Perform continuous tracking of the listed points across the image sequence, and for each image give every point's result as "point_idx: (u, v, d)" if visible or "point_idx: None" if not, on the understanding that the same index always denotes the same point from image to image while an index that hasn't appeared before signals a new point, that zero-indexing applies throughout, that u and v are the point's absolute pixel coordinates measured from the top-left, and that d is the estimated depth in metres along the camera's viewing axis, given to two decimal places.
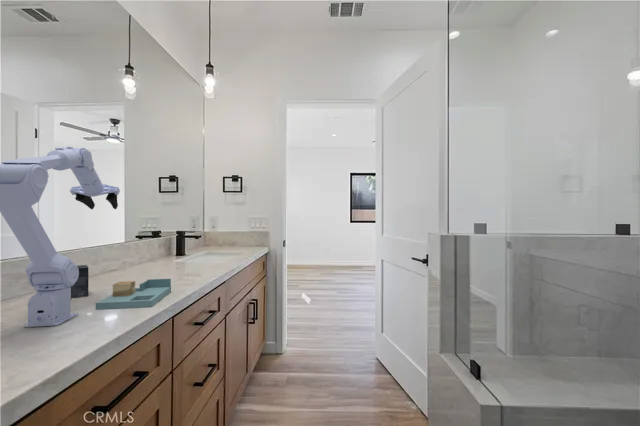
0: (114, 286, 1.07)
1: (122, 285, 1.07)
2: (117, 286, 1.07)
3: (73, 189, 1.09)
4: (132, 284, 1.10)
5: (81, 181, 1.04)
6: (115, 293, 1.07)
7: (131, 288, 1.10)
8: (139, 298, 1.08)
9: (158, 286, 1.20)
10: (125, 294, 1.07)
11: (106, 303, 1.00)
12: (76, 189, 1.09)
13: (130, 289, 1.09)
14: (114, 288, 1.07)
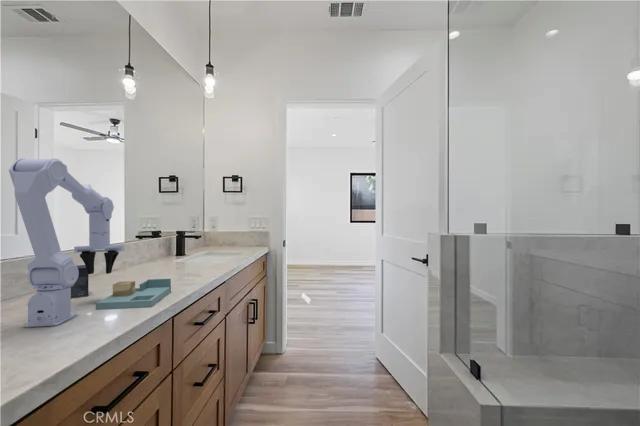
0: (114, 286, 1.07)
1: (122, 285, 1.07)
2: (117, 286, 1.07)
3: (78, 247, 1.08)
4: (132, 284, 1.10)
5: (92, 228, 1.06)
6: (115, 293, 1.07)
7: (131, 288, 1.10)
8: (139, 298, 1.08)
9: (158, 286, 1.20)
10: (125, 294, 1.07)
11: (106, 303, 1.00)
12: None
13: (130, 289, 1.09)
14: (114, 288, 1.07)
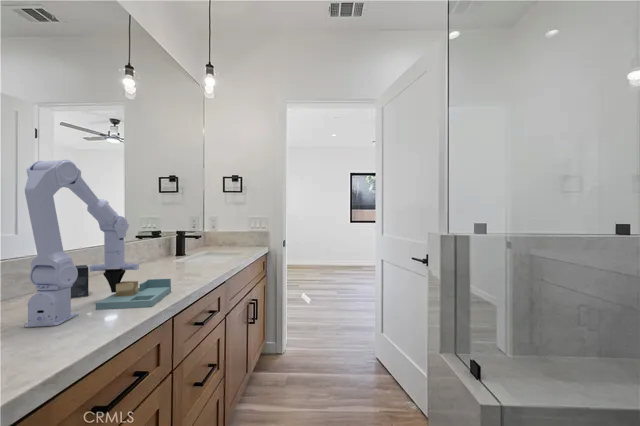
0: (117, 286, 1.07)
1: (125, 285, 1.08)
2: (120, 285, 1.07)
3: (93, 265, 1.08)
4: (135, 284, 1.11)
5: (105, 248, 1.07)
6: (118, 293, 1.07)
7: (135, 288, 1.10)
8: (139, 298, 1.08)
9: (158, 286, 1.20)
10: (128, 294, 1.08)
11: (106, 303, 1.00)
12: (96, 265, 1.08)
13: (133, 289, 1.09)
14: (117, 288, 1.07)
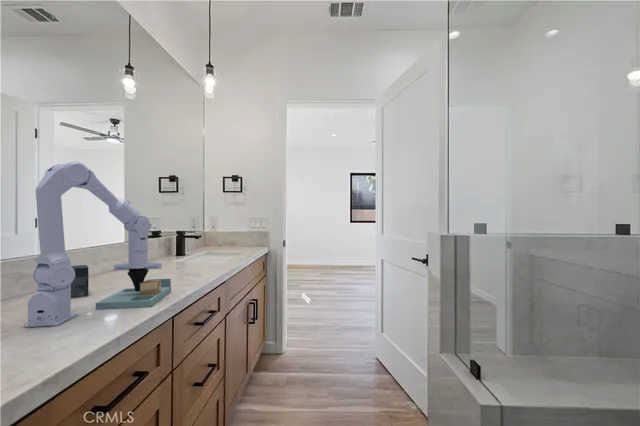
0: (141, 285, 1.08)
1: (149, 284, 1.09)
2: (144, 284, 1.08)
3: (117, 265, 1.09)
4: (158, 283, 1.12)
5: (128, 247, 1.08)
6: (143, 292, 1.08)
7: (158, 287, 1.11)
8: (139, 298, 1.08)
9: None
10: (152, 293, 1.09)
11: (106, 303, 1.00)
12: None
13: (157, 288, 1.10)
14: (141, 287, 1.08)
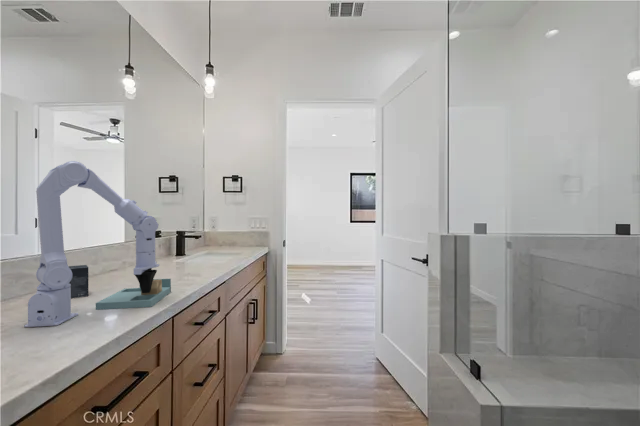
0: None
1: None
2: None
3: None
4: (159, 282, 1.12)
5: (136, 247, 1.06)
6: None
7: (159, 286, 1.12)
8: (139, 298, 1.08)
9: None
10: (153, 292, 1.10)
11: (106, 303, 1.00)
12: None
13: (158, 287, 1.11)
14: None
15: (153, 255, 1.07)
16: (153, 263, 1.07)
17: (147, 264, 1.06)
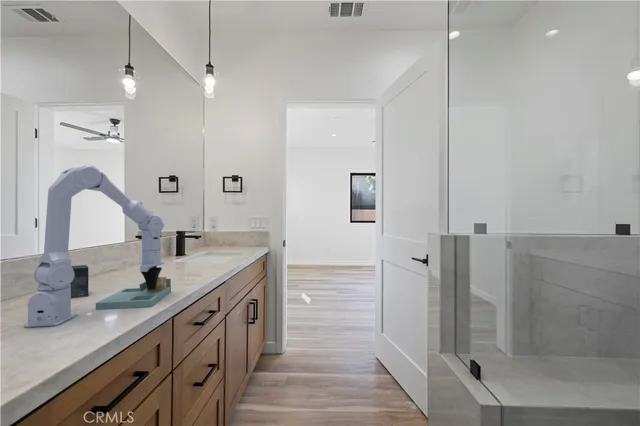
0: None
1: None
2: None
3: None
4: (164, 280, 1.17)
5: (142, 246, 1.11)
6: None
7: (163, 283, 1.17)
8: (139, 298, 1.08)
9: None
10: (158, 289, 1.15)
11: (106, 303, 1.00)
12: None
13: (162, 284, 1.16)
14: None
15: (158, 253, 1.12)
16: (158, 261, 1.12)
17: (153, 262, 1.11)
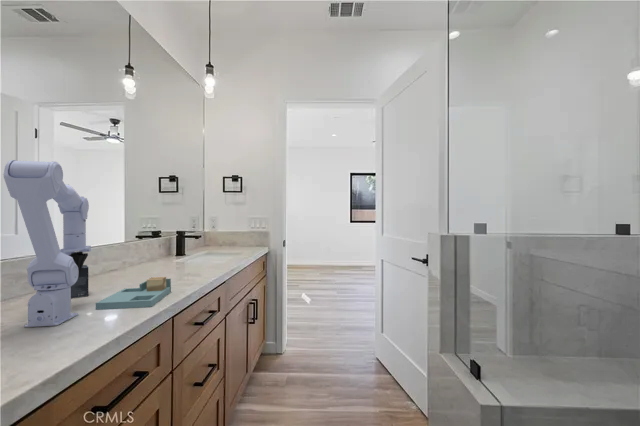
0: (148, 281, 1.14)
1: (155, 280, 1.14)
2: (150, 281, 1.14)
3: None
4: (164, 280, 1.17)
5: (68, 229, 1.00)
6: (149, 288, 1.14)
7: (163, 283, 1.17)
8: (139, 298, 1.08)
9: None
10: (158, 289, 1.15)
11: (106, 303, 1.00)
12: None
13: (162, 284, 1.16)
14: (148, 283, 1.14)
15: (82, 237, 1.03)
16: (82, 246, 1.03)
17: (74, 247, 1.01)
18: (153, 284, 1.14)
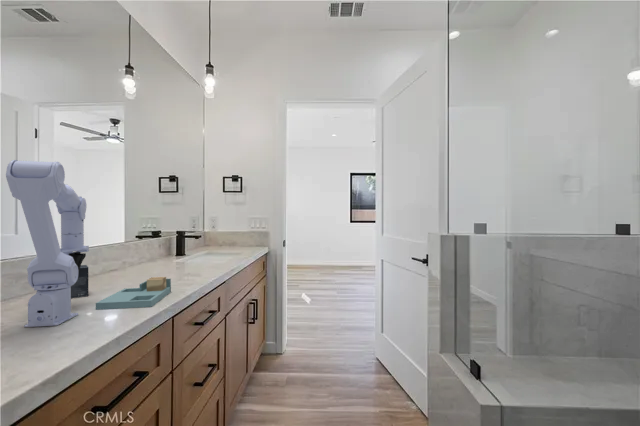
0: (148, 281, 1.14)
1: (155, 280, 1.14)
2: (150, 281, 1.14)
3: None
4: (164, 280, 1.17)
5: (66, 229, 1.00)
6: (149, 288, 1.14)
7: (163, 283, 1.17)
8: (139, 298, 1.08)
9: None
10: (158, 289, 1.15)
11: (106, 303, 1.00)
12: None
13: (162, 284, 1.16)
14: (148, 283, 1.14)
15: (80, 238, 1.02)
16: (80, 246, 1.02)
17: (72, 247, 1.01)
18: (153, 284, 1.14)
